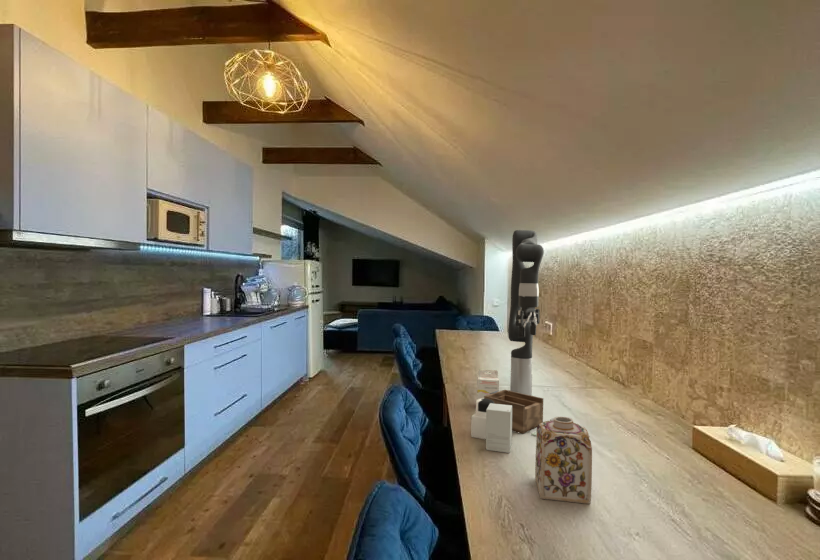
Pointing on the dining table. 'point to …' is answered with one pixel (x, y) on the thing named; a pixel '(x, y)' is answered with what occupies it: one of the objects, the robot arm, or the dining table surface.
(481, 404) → the medicine bottle
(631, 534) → the dining table surface
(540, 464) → the decorative jar
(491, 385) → the ink cartridge box
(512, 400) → the box
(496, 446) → the supplement box
